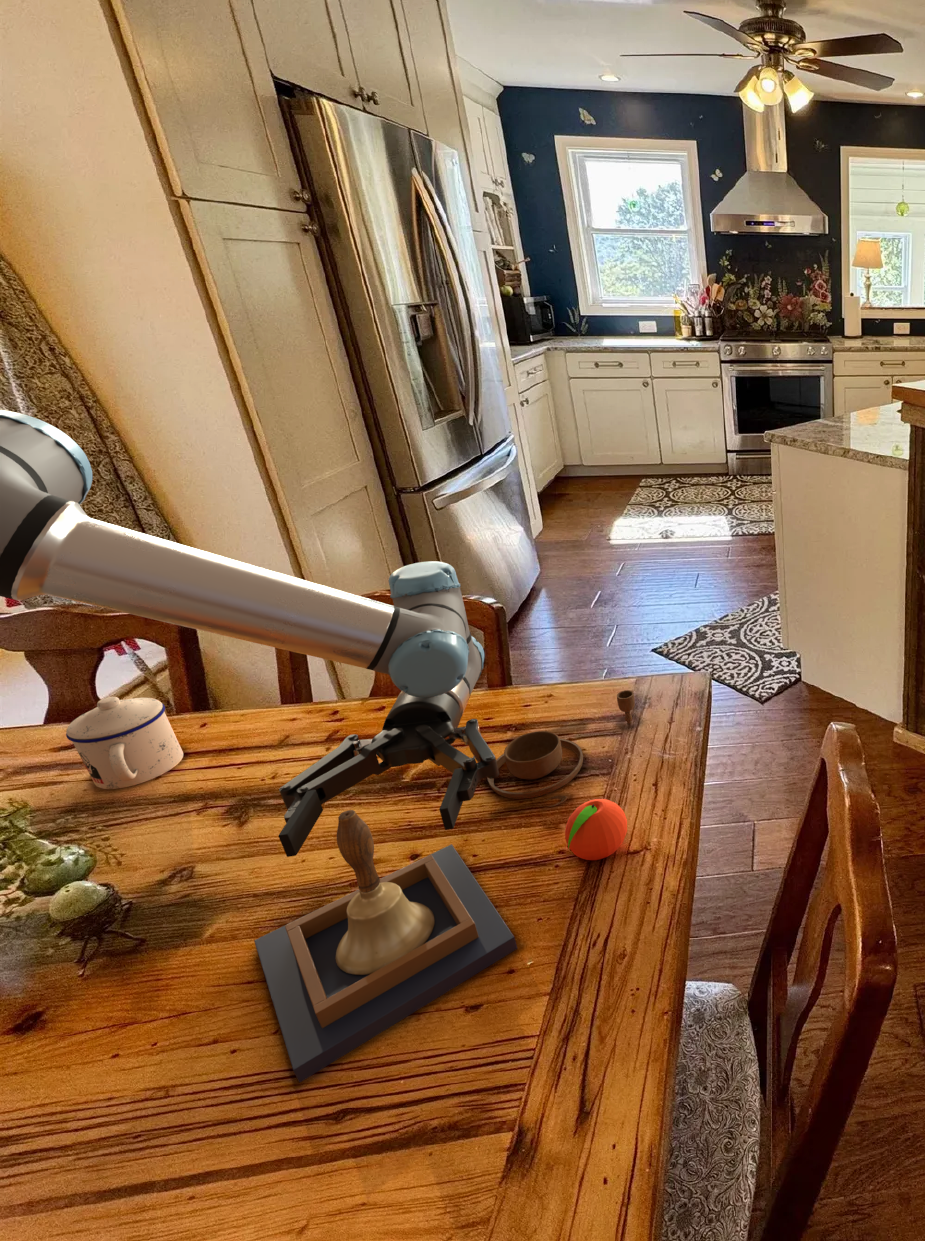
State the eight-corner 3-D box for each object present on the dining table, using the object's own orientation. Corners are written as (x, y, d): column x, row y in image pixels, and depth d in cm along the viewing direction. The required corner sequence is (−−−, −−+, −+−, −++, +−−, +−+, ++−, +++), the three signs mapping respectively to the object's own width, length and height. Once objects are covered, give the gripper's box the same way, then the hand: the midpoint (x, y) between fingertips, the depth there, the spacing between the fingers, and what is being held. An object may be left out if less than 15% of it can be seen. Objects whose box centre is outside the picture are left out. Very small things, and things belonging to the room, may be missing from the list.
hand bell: (422, 891, 76) (385, 773, 70) (445, 940, 71) (406, 817, 65) (329, 936, 71) (279, 812, 65) (345, 993, 66) (292, 864, 59)
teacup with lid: (99, 767, 96) (62, 695, 92) (189, 743, 102) (158, 673, 97) (85, 817, 88) (43, 741, 83) (184, 787, 93) (150, 714, 89)
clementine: (598, 887, 81) (590, 839, 78) (549, 870, 83) (539, 823, 80) (642, 838, 88) (636, 793, 85) (596, 824, 89) (588, 779, 87)
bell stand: (262, 957, 71) (247, 925, 70) (456, 859, 84) (447, 830, 82) (302, 1088, 60) (285, 1055, 58) (518, 954, 73) (510, 922, 71)
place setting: (494, 746, 103) (486, 712, 101) (638, 718, 110) (633, 686, 108) (484, 827, 88) (475, 790, 86) (650, 788, 96) (646, 753, 93)
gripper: (541, 722, 93) (514, 836, 75) (319, 752, 86) (229, 887, 68) (531, 673, 90) (501, 780, 72) (301, 701, 83) (201, 827, 65)
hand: (368, 832), depth 70 cm, fingers open, 13 cm apart
